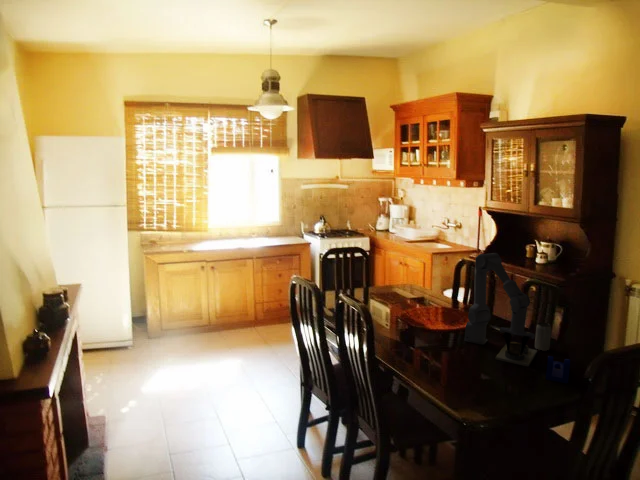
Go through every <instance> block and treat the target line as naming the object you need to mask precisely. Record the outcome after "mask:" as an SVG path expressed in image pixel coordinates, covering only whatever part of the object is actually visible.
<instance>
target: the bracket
mask: <svg viewBox="0 0 640 480" xmlns="http://www.w3.org/2000/svg"><path fill="white" fill-rule="evenodd" d="M554 357H555V356H552V355H547V363H546V364H547V365H546V370H545V380H547V381H552V382H556V383H563V384H567V383H568V384H569V379H570V370H571V369H570V368H571V358H564V360H563V362H562V361H557V360H554Z"/></svg>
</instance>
